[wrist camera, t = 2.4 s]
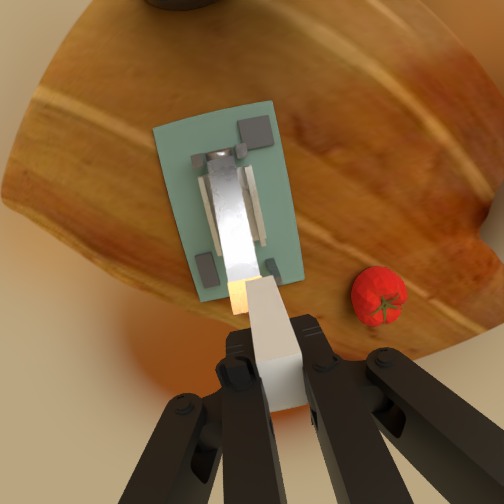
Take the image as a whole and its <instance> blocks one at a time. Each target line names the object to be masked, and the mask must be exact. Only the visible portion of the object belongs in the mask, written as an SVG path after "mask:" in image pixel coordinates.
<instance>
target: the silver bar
mask: <svg viewBox="0 0 504 504" xmlns="http://www.w3.org/2000/svg"><path fill="white" fill-rule="evenodd" d="M234 148H235V152H236V157H237V159H240V158H244V157H249V156H248V152H247V147H246V143H242V144H237V145H234ZM190 157H191V161H192V165H193V169H197V168H201V167H205V166H206V165H207V160H206V155H205V153H199V154H195V155H191V156H190ZM236 170H237V174H238V179H239V183H240V187H241V192H242V196H243V201H244V205H245V210H246V214H247V218H248V223H249V227H250V232H251V236H252V241H253V245H254V248H255V244H254V241H257V240H260V243H261V246H262V247H263V246H266V241H265V239H266V238H267V237H266V232H265V227H264V222H263V217H262V213H261V208H260V203H259V198H258V193H257V189H256V184H255V179H254V174H253V170H252V165H251V164H249V165H245V166H240V167H236ZM197 178H198V182H199V186H200V190H201V194H202V198H203V202H204V206H205V210H206V214H207V218H208V222H209V226H210V230H211V234H212V238H213V241H214V245H215V249H216V252H217V255H218V256H222V255H223V251H222V246H221V240H220V235H219V229H218V224H217V218H216V213H215V207H214V201H213V195H212V189H211V183H210V177H209V174H206V175H202V176H198V177H197ZM265 260H266V265H267V269H268V272H269V275H270V276H272V275H273V277H274V280H275V282H276V285H277V286H280V285H283V284H282V278H281V275H280V272H279V270H278V267H277V265H276V262H275V260H274V258H269V259H265ZM266 277H267V276H266Z"/></svg>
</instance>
